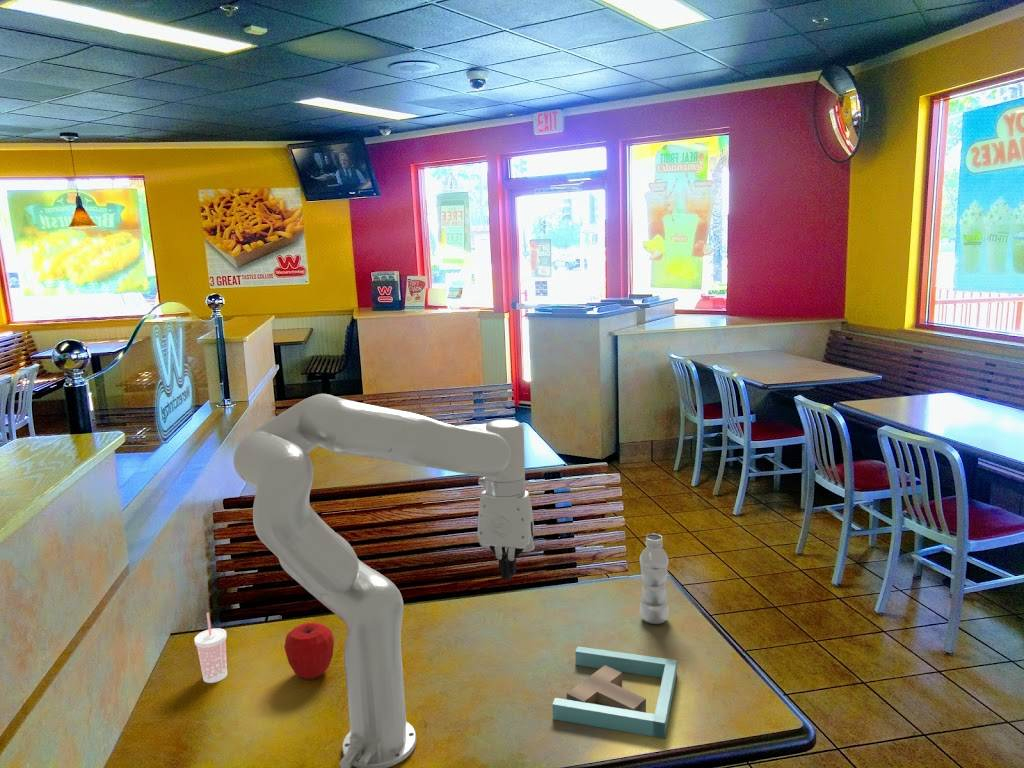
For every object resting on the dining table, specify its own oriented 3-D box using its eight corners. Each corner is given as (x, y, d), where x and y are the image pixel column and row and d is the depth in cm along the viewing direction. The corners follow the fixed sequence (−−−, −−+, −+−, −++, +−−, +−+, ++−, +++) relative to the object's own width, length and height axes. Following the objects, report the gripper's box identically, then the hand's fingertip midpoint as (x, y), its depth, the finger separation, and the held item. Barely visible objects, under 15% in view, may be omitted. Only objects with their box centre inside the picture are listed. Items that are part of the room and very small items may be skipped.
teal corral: (664, 738, 127) (664, 723, 126) (552, 719, 133) (552, 704, 132) (676, 674, 145) (676, 660, 145) (577, 659, 152) (577, 646, 151)
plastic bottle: (647, 630, 162) (647, 544, 158) (634, 615, 169) (634, 533, 165) (674, 625, 164) (674, 540, 160) (660, 611, 170) (660, 529, 166)
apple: (346, 671, 150) (342, 622, 148) (306, 693, 143) (301, 642, 141) (317, 655, 157) (313, 608, 154) (277, 676, 149) (272, 627, 147)
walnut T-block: (620, 735, 128) (620, 720, 128) (566, 707, 136) (566, 693, 136) (657, 703, 137) (657, 688, 136) (605, 678, 145) (605, 665, 144)
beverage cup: (218, 664, 154) (210, 603, 152) (237, 672, 151) (230, 609, 148) (192, 679, 149) (184, 616, 146) (212, 688, 146) (204, 623, 143)
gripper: (460, 488, 137) (464, 580, 140) (537, 495, 132) (539, 590, 136) (475, 476, 144) (478, 564, 147) (548, 482, 139) (550, 573, 143)
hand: (507, 576), depth 142 cm, fingers closed
